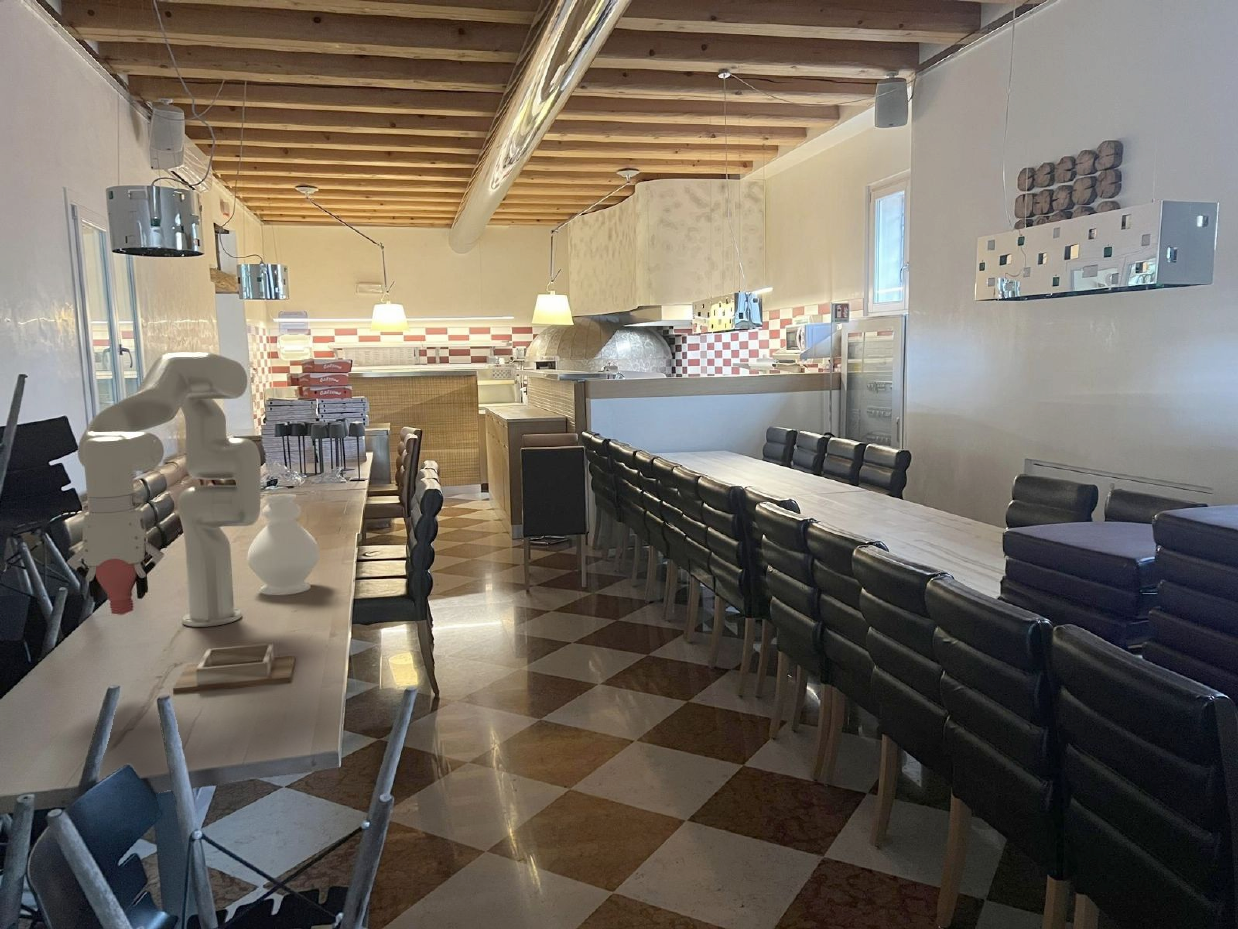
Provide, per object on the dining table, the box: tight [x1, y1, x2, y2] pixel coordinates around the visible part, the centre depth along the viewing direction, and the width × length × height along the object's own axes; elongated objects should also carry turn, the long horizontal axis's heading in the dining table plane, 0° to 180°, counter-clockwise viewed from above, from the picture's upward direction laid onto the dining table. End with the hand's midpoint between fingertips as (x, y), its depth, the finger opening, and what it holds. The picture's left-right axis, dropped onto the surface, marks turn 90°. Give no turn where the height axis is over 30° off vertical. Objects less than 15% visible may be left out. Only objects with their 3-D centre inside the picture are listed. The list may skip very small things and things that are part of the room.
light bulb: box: [96, 559, 138, 616], centre depth 164 cm, size 7×7×12 cm
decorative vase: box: [247, 493, 321, 596], centre depth 233 cm, size 18×18×25 cm
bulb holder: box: [172, 643, 297, 695], centre depth 169 cm, size 13×20×4 cm, turn 106°
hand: (119, 597), depth 164 cm, fingers closed on light bulb, 6 cm apart
